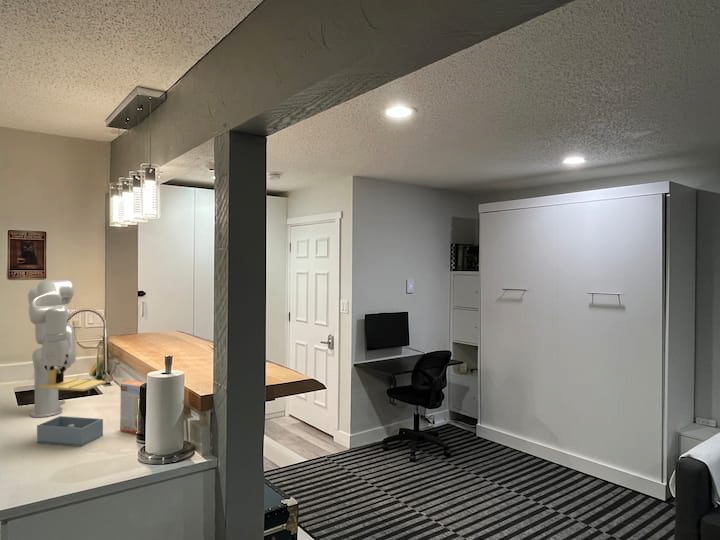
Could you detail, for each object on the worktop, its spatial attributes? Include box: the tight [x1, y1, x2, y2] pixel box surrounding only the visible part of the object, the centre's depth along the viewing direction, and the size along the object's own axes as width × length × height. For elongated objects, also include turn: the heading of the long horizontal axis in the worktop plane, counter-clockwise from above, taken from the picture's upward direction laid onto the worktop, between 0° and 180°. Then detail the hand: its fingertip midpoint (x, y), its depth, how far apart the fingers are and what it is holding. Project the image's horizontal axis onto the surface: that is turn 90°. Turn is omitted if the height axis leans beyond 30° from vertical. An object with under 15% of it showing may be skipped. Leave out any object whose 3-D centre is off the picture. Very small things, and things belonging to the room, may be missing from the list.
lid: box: [38, 367, 107, 392], centre depth 198 cm, size 21×13×6 cm, turn 81°
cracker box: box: [119, 380, 145, 435], centre depth 206 cm, size 14×6×21 cm, turn 65°
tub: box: [36, 415, 104, 447], centre depth 197 cm, size 20×12×7 cm, turn 82°
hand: (55, 381), depth 199 cm, fingers closed on lid, 3 cm apart
